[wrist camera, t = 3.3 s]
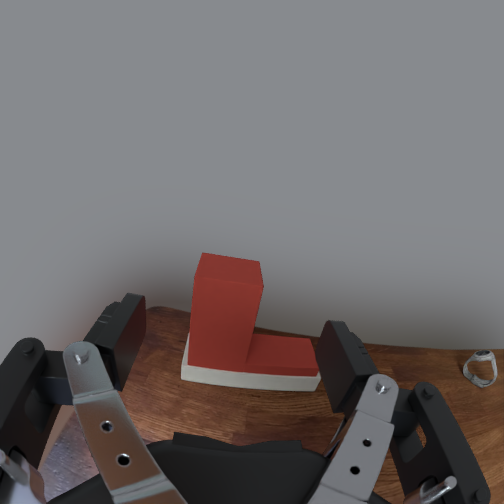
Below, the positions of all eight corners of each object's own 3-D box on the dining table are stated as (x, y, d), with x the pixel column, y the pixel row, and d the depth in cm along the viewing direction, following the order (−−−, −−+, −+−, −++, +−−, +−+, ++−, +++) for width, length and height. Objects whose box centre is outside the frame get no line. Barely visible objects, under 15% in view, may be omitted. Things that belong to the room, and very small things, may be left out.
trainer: (180, 379, 23) (187, 275, 19) (188, 346, 27) (196, 250, 23) (314, 391, 24) (356, 298, 20) (305, 359, 29) (337, 272, 25)
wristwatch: (463, 366, 29) (479, 339, 27) (489, 386, 24) (507, 360, 22) (456, 374, 27) (474, 346, 25) (483, 396, 22) (504, 369, 20)
